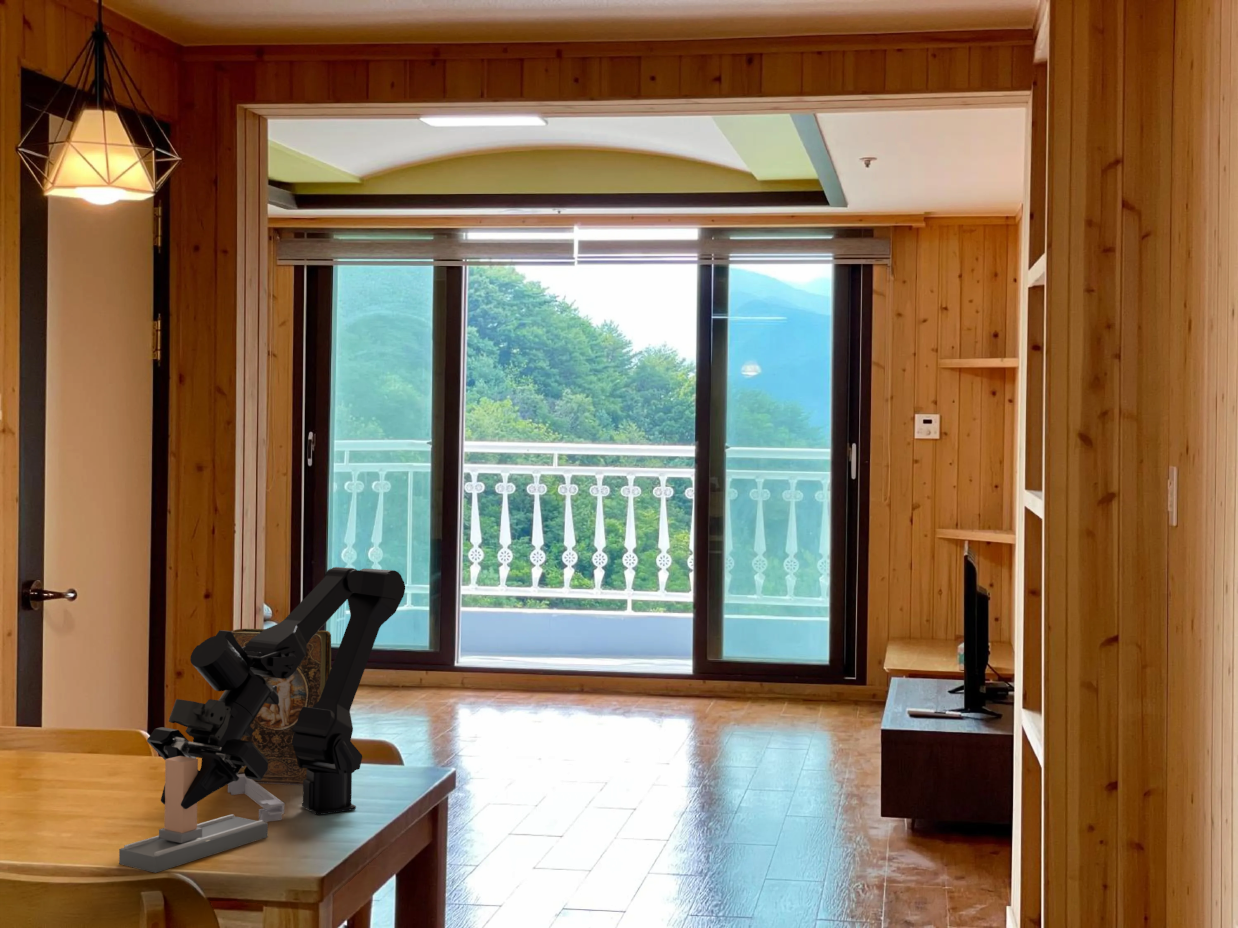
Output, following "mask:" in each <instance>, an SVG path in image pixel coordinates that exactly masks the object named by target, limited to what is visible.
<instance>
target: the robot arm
mask: <svg viewBox="0 0 1238 928" xmlns="http://www.w3.org/2000/svg"><path fill="white" fill-rule="evenodd" d="M405 592H406V584H405V581H404V579H403V577H402V575H401V574H400V573H399V571H397V570H394V569H393V570H392V569H380V568H379V569H377V568H362V569H359V570H358V569H356V568H354V567H342V566H334V567H332V568H330V569H328V570H327V571H326V572H325V574H324V577H323V578H322V579H321V581H319V583H317V585H316V586H315V587H314V588H313V589H312V590H311V591H310V592H309V593H308V594H307V595H306V596H305V597H304V599H303V600H301V602H300V603H299V604H297V606H296V607H295V608H294V609H293V610H292V611H291V612H290V613H289V614H288V615H287V616H286V617H285V618H284V619H283V620H282V621H280V622H279V623H277V624H275V625H272V626H269V627H267V628H264V629H265V630H263V631H262V632H260V633H259V634H258V635H256V636H255V637H254V638H252V639H251V640H250V641H249V642H248V643H247V645H246V646H244V647H241V646H240V645H239V643H238V642H237V641H236V639H235V637H234V635H233V634H232V633H231V632H230V631H231V630H224V629H223V630H218V631H217V633H216V635H214V636H213V635H212V636H211V637H209V638H207V639H205V640H204V641H202V642H200V643H199V644H198V645H196V646H195V647H194V649H193V650H192V652H191V654H190V659H189V660H190V663H191V664H190V665H192V666H193V667H194V668H195V669H196V670H197V672H198V673H199V674H200V676H202V677H203V678H204V680H205V681H206V683H208V684H209V686H211V688H212V689H213V690H214V691H216V692H222V694H221V696H220V698H219V699H218V700H217V699H207V701H206V702H205V703H203V702H198V701H193V700H186V699H178V698H176V699H175V701H174V704H173V707H172V710H171V713H170V716H169V718H168V722H169V723H171V724H178V725H180V726H183V727H185V728H186V729H185V730H184V731H185V733H186V734H187V735H188V736H189V737H191V738H193V739H192V741H191V740H188V739H187V737H186V736H184V734H183V733H182V732H181V731H180V730H179V729H174V728H169V727H163V726H161V727H157V728H154V729H153V731H152V732H151V734H150V735H149V736H148V738H147V740H146V742H147V743H148V744H149V745H150V746H151V747H152V748H153V750H155V751H156V753H158V755H160V756H161V758H163V760H164V761H165V759H168V758H173V757H177V756H184V757H189V758H195V759H197V758H200V759H201V763H200V764H201V765H200V768H199V769H198V774H197V776H196V777H195V779H194V781H193V782H192V784H191V786H190V787H189V789H188V791H187V792H186V794H185V796H184V798H183V800H182V802H181V806H182V807H183V808H184V809H188V808H189V807H191V806H192V805H194V804H195V803H197V804H198V803H199V802H201V801H202V800H204V799H205V798H207V797H209V796H210V795H211V794H213V793H214V792H216V791H218V790H220V789H221V788H223V787H225V786H228V784H229V783H231V782H233V781H238V780H239V777H238V776H237V774H238V772H239V770H240V769H241V767H244V766H247V767H246V768H245V770H244V773H245V776H246V777H247V778H248V779H254V780H260V781H261V780H262V778H263V776H264V775H265V773H266V772H267V770H268V760H267V759H266V757H265V756H264V755H263V754H262V753H261V752H260V751H259V749H258V748H257V747H256V746H255V745H254V744H253V743H252V742H251V741H244V740H241V739H242V737H243V736H250V737H251V735H252V733H253V732H254V730H253V729H252V728H251V727H250V725H251V724H252V722H253V720H254V719H255V717H256V716H257V714H258V713H259V711H260V710H261V708H262V707H263V705H264V704H265V703H267V704H274V705H278V704H279V696H278V694H277V686H275V685H269V684H268V683H267V682H266V680H265V679H264V678H263V677H262V676H264V677H272V678H280V679H287V678H289V677H290V676H291V675H293V674H294V672H295V671H296V669H297V668H298V666H299V665H300V663H301V662H302V660H303V659H304V657H305V655H306V648H307V644H308V642H309V641H310V639H311V638H312V637H313V636H314V635H315V634H316V633H317V632H318V631H320V630H321V629H322V628H323V626H324V625H325V624H326V623H327V622H328V621H329V620H330V619H331V618H332V617H333V615H334V614H335V613H336V612H337V611H338V610H339V609H340V608H341V606H342V605H343V604H345V602H346V601H347V603H348V609H349V614H350V616H349V620H348V623H347V626H346V627H345V631H344V634H343V635H342V636H343V637H342V638H341V641H340V644H339V646H338V650H337V651H336V655H335V657H334V659H333V663H332V664H331V670H330V673H329V676H328V678H327V681H326V684H325V686H324V689H323V692H322V694H321V697H320V699H319V701H318V702H317V703H316V704H315V705H314V706H313V707H312V708H311V707H303V708H302V709H301V711H300V713H299V717H298V720H297V723H296V725H295V727H294V728H293V729H292V732H294V734H293V738H292V745H293V747H294V751H295V755H296V758H297V762H298V766H299V768H308V769H306V779H304V780H303V785H302V803H301V807H302V808H304V809H306V810H308V811H309V812H311V813H313V814H314V815H317V816H318V815H319V816H320V815H326V814H333V813H339V812H345V811H346V812H347V811H354V810H356V809H357V806H356V805H354V804H353V803H352V793H353V792H352V789H353V788H352V787H353V786H352V785H353V782H352V780H353V778H352V777H353V773H355V771H359V770H360V768H361V765H362V760H363V754H362V753H361V752H360V751H359V750H358V748H357V747H356V746H355V745H354V744H353V742H352V737H353V736H352V735H353V732H354V726H353V721H352V717H351V708H352V706H353V703H354V700H355V697H356V695H357V691H358V690H359V689H358V688H359V685H360V682H361V680H362V677H363V675H364V672H365V669H366V667H367V664H368V661H369V658H370V656H371V653H372V651H373V647H374V644H375V642H376V639H377V636H378V634H379V631H380V628H381V627H382V626H383V625H384V623H386V622H387V621H388V620H389V619H390V618H391V617H392V616H393V615H394V614H395V613H396V611H398V608H399V606H400V604H401V602H402V600H403V598H404V595H405ZM160 802H161V803H162V805H164V806H165V784H164V786H163V789H162V794H161V797H160Z"/></svg>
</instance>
